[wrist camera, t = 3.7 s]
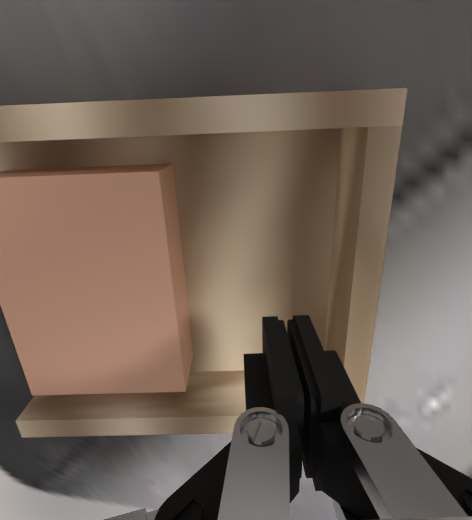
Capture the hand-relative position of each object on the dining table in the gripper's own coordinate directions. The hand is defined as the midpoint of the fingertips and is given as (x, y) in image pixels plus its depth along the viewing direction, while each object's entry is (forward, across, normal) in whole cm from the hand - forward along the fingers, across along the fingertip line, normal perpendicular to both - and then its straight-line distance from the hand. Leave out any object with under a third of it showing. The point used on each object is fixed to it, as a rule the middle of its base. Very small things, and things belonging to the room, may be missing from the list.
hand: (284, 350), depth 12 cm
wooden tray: (+7, +4, -1) cm, 8 cm away
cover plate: (+6, +8, -1) cm, 11 cm away
